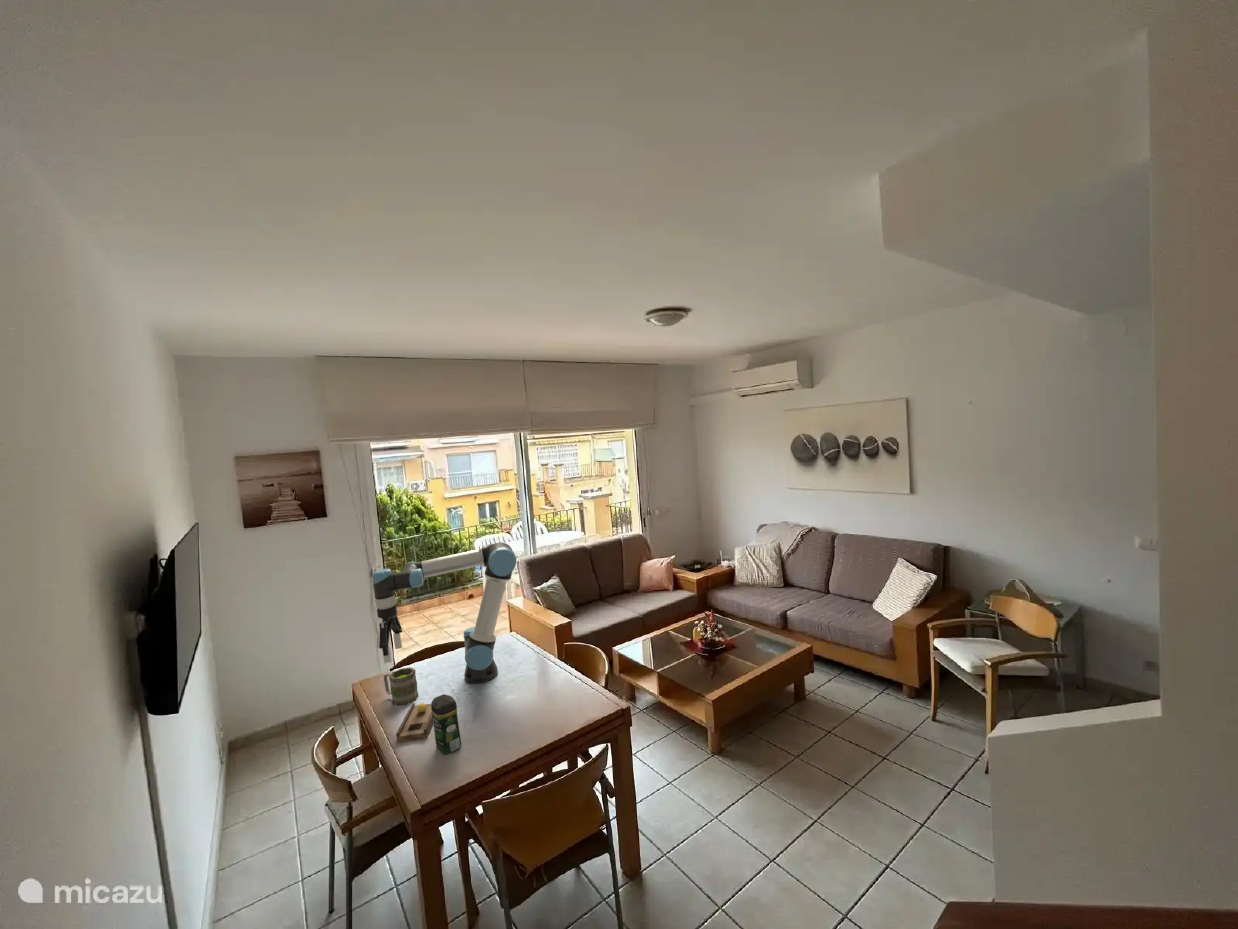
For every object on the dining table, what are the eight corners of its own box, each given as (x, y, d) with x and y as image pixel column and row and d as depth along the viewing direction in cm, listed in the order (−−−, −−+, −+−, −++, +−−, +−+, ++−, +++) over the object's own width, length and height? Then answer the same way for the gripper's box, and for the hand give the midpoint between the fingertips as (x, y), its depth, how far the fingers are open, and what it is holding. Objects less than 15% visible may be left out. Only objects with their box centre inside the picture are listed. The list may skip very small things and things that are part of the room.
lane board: (440, 708, 219) (439, 699, 219) (427, 738, 197) (426, 729, 197) (413, 711, 218) (412, 703, 218) (397, 743, 196) (395, 734, 196)
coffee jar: (433, 747, 192) (427, 698, 190) (453, 737, 197) (448, 689, 195) (443, 758, 184) (437, 707, 183) (464, 748, 189) (458, 698, 188)
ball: (427, 709, 214) (426, 700, 214) (425, 713, 211) (424, 705, 211) (418, 710, 214) (417, 701, 214) (416, 715, 211) (415, 706, 210)
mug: (424, 694, 232) (420, 668, 232) (406, 707, 222) (403, 680, 221) (395, 691, 238) (392, 665, 237) (377, 704, 227) (374, 677, 227)
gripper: (387, 598, 231) (394, 644, 233) (365, 618, 207) (373, 670, 208) (404, 595, 232) (411, 641, 234) (385, 615, 207) (392, 667, 209)
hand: (393, 655), depth 221 cm, fingers open, 13 cm apart
